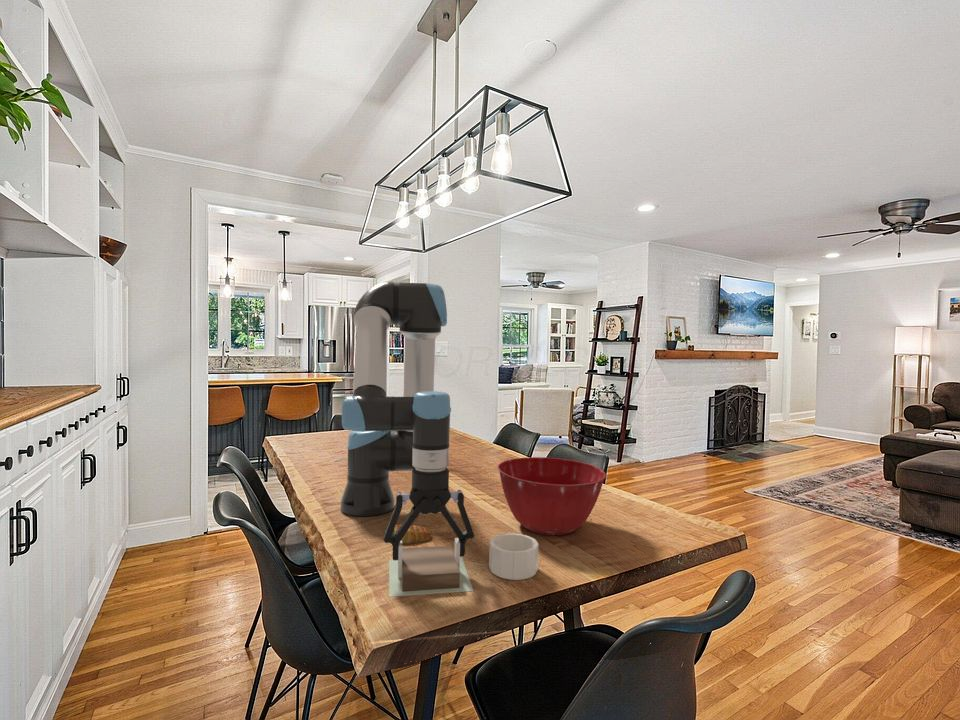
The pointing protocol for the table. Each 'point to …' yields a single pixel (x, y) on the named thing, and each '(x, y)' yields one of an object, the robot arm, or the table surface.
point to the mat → (396, 590)
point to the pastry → (414, 534)
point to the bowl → (513, 556)
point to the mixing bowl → (550, 492)
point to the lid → (429, 568)
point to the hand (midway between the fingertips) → (428, 573)
